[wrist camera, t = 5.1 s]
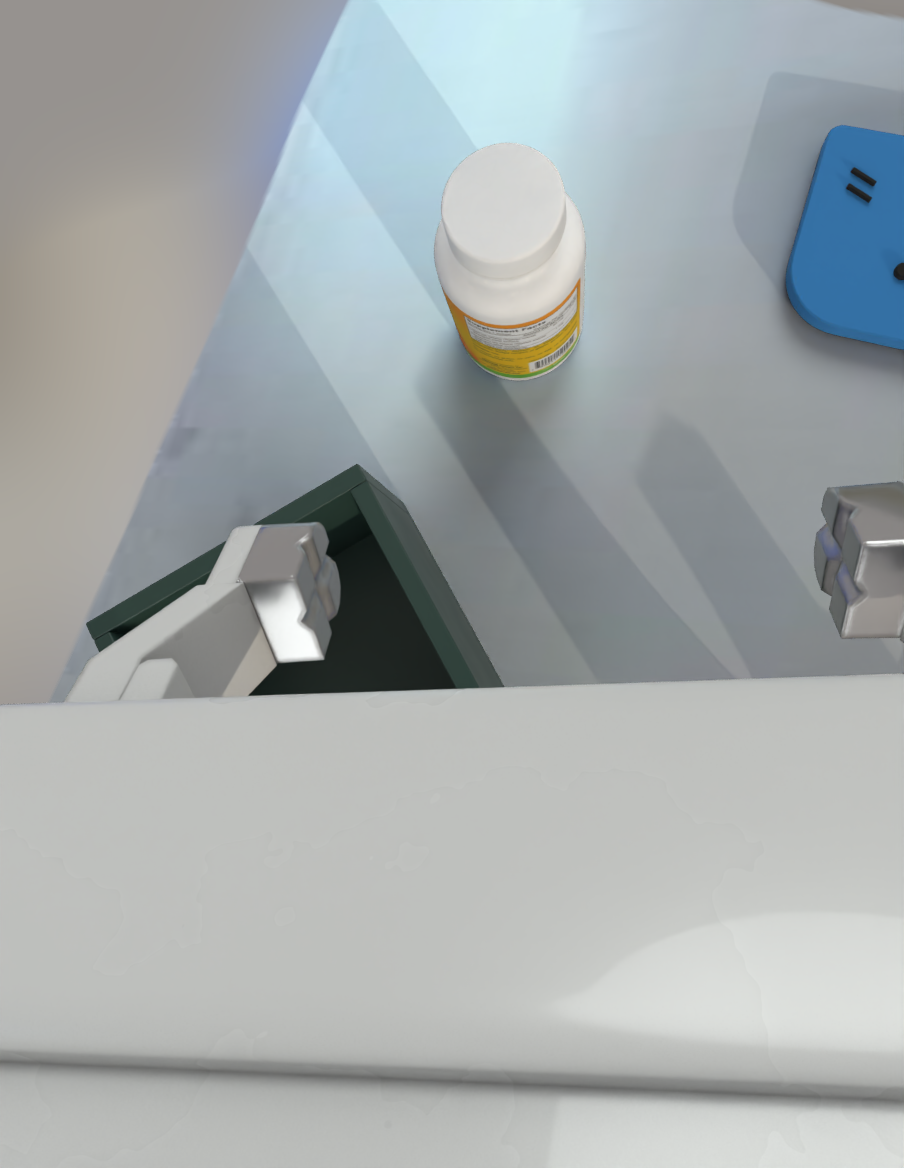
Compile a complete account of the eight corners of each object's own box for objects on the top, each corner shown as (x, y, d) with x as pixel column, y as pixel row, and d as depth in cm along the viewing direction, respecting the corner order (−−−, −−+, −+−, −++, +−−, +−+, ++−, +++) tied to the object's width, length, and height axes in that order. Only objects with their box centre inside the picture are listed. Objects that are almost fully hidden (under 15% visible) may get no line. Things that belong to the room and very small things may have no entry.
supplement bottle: (475, 255, 35) (439, 109, 26) (595, 273, 34) (604, 130, 25) (447, 372, 35) (401, 269, 26) (568, 393, 34) (567, 295, 25)
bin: (554, 777, 33) (549, 816, 26) (320, 902, 34) (249, 974, 27) (403, 502, 35) (357, 463, 27) (186, 628, 36) (84, 623, 28)
